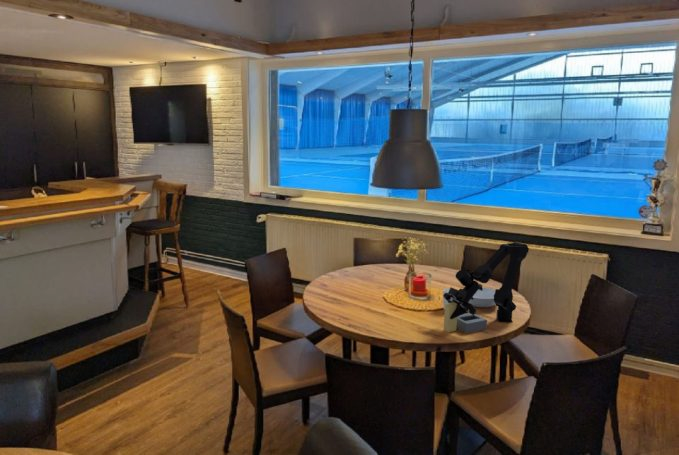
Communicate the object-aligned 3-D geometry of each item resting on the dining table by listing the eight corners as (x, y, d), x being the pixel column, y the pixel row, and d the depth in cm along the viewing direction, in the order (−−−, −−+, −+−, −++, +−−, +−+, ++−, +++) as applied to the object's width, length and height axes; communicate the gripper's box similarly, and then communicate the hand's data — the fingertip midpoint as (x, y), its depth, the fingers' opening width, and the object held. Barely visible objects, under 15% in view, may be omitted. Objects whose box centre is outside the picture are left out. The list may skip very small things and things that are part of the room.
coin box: (471, 321, 254) (471, 312, 253) (486, 328, 244) (487, 319, 243) (451, 324, 248) (451, 315, 248) (466, 332, 239) (466, 323, 238)
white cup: (450, 312, 265) (451, 294, 263) (439, 308, 271) (439, 290, 269) (460, 309, 269) (461, 291, 267) (449, 305, 275) (450, 287, 274)
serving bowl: (499, 300, 285) (500, 288, 283) (500, 313, 265) (501, 300, 264) (460, 296, 290) (461, 284, 289) (459, 309, 270) (459, 296, 269)
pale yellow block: (452, 328, 244) (454, 302, 241) (456, 330, 241) (458, 304, 239) (443, 330, 242) (445, 303, 239) (447, 332, 239) (449, 305, 236)
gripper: (447, 276, 247) (426, 301, 244) (472, 287, 230) (451, 314, 228) (459, 289, 252) (439, 314, 249) (485, 301, 235) (464, 328, 233)
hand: (448, 317), depth 240 cm, fingers closed on pale yellow block, 3 cm apart
